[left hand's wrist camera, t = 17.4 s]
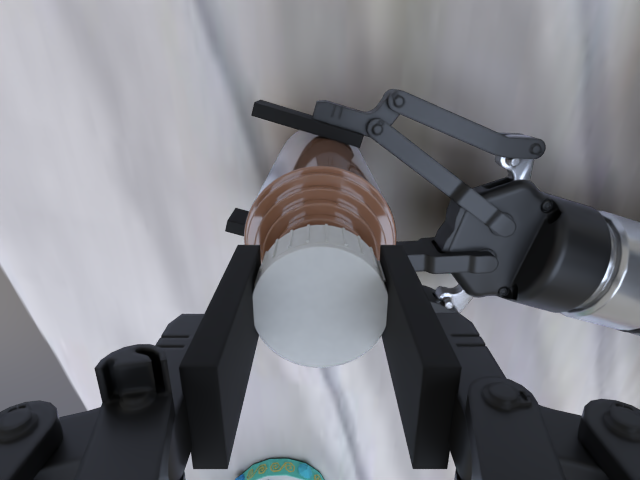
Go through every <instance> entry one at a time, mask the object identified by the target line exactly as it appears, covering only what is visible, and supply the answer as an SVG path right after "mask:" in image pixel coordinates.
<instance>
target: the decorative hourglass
mask: <svg viewBox="0 0 640 480" xmlns="http://www.w3.org/2000/svg"><path fill="white" fill-rule="evenodd" d="M235 480H324V479H323V477H322V475H321V474H320V472H318V471H317V470H315V469H314V468H312V467H311V466H309V465H308V464H306V463H303V462H299V461H295V460H291V459H268V460H266V461H263V462H260V463H257V464H254V465H252V466H251V467H250V468H249V469H248V470H246V471H245V472H244V473H243V474H242V475H240V476H239V477H237V478H236V479H235Z"/></svg>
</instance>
